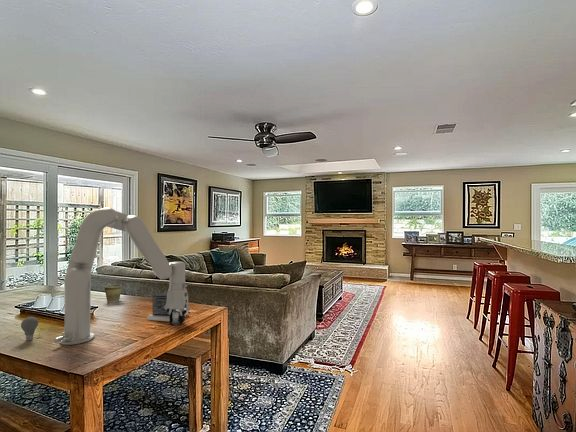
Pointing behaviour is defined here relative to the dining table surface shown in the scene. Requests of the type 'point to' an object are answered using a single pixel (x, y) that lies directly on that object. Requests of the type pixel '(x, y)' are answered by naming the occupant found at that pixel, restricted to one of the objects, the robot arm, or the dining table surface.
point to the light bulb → (29, 327)
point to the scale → (161, 317)
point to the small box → (160, 304)
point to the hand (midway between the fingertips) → (176, 322)
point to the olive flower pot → (113, 293)
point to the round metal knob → (175, 317)
